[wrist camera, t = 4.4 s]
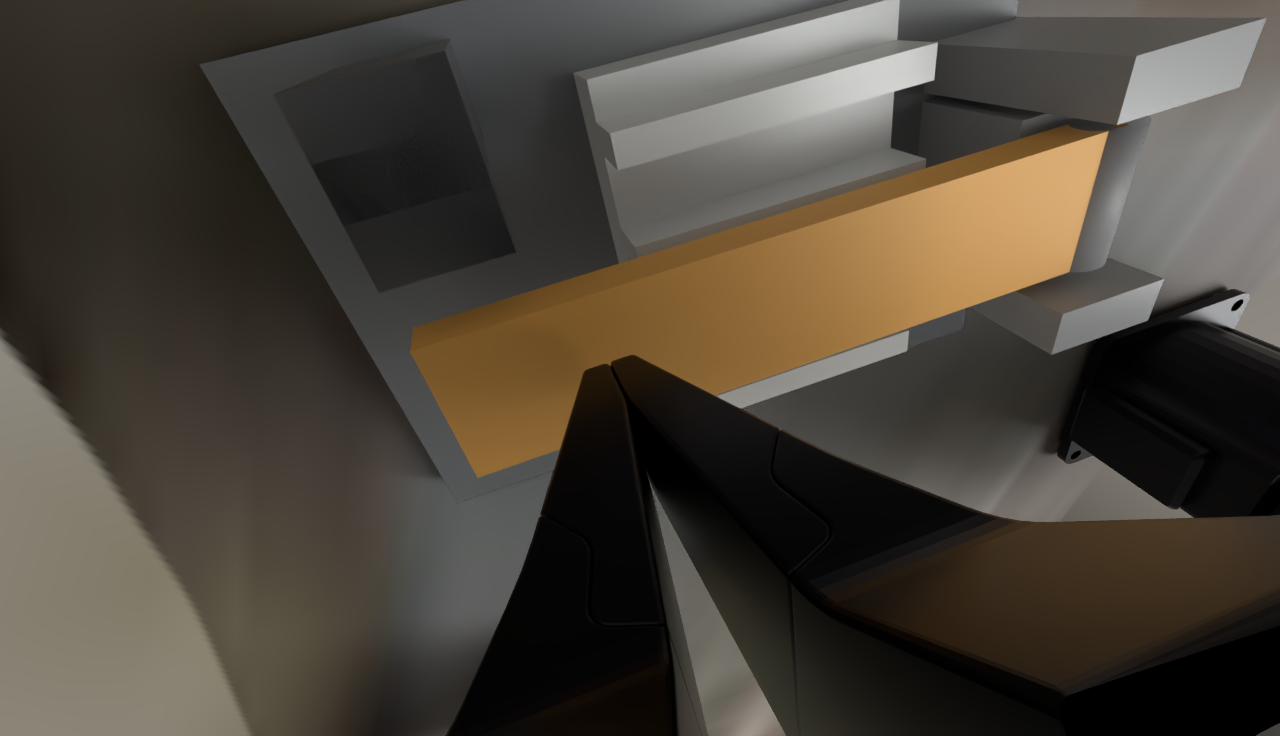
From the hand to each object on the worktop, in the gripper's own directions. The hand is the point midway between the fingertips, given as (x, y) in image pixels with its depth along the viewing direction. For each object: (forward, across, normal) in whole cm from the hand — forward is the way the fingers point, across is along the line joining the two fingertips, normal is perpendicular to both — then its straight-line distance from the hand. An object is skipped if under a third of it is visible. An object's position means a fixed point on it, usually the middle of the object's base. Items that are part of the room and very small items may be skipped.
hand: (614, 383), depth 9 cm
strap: (+2, -4, 0) cm, 4 cm away
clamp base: (+6, -3, 0) cm, 6 cm away
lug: (+6, +2, -4) cm, 7 cm away
